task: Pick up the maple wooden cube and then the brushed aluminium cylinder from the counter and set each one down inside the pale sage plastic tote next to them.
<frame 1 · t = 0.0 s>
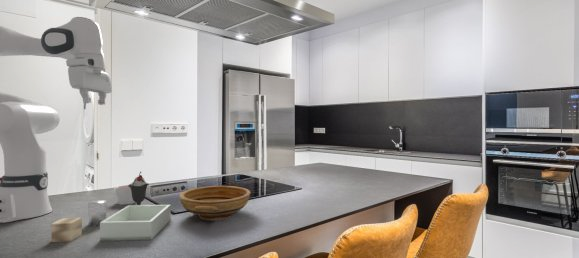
hand: (94, 104, 109), 39 cm above the counter, tool pointing down, fingers open, 8 cm apart
wooden bowl: (215, 215, 108), on the counter
maple cube: (67, 238, 86), on the counter
tote: (138, 229, 94), on the counter
sundae: (139, 212, 111), on the counter
aluminium cylinder: (97, 223, 98), on the counter
candle: (127, 203, 124), on the counter
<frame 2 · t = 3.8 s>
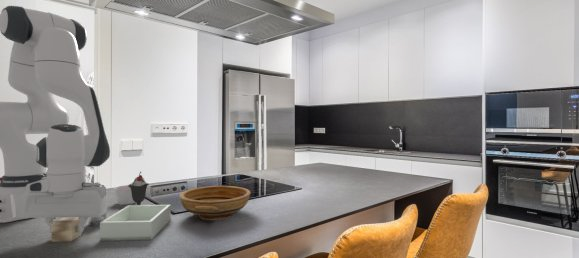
hand: (67, 232, 86), 2 cm above the counter, tool pointing down, fingers closed on maple cube, 5 cm apart
maple cube: (67, 238, 86), on the counter, touching gripper
everything else where it was.
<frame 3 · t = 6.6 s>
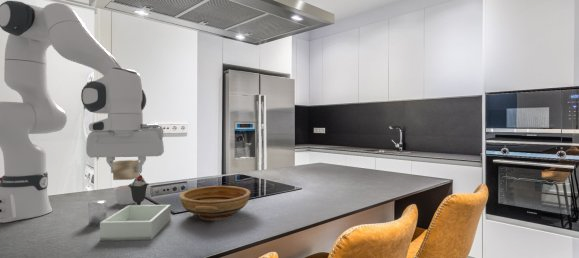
hand: (126, 172, 88), 18 cm above the counter, tool pointing down, fingers closed on maple cube, 5 cm apart
maple cube: (126, 178, 88), point 16 cm above the counter, touching gripper
everything else where it was.
when the fingers open (5 cm above the counter, at t = 9.5 s): maple cube drops 3 cm, resting on tote.
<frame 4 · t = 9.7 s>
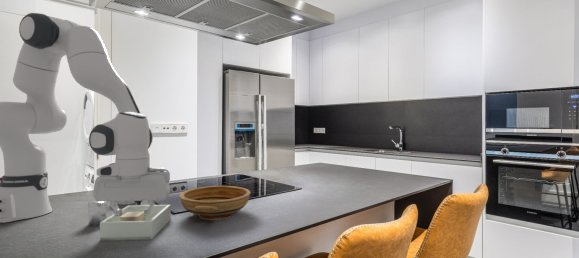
hand: (133, 215, 89), 5 cm above the counter, tool pointing down, fingers open, 7 cm apart
maple cube: (132, 231, 89), point 1 cm above the counter, touching tote
everything else where it was.
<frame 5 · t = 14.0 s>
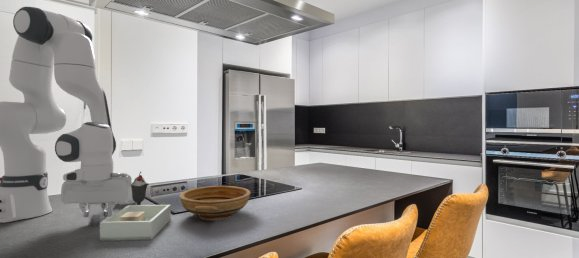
hand: (97, 216, 98), 2 cm above the counter, tool pointing down, fingers closed on aluminium cylinder, 5 cm apart
aluminium cylinder: (97, 223, 98), on the counter, touching gripper
everything else where it was.
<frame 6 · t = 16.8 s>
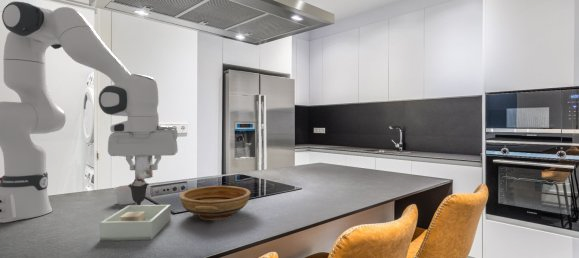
hand: (143, 170, 97), 17 cm above the counter, tool pointing down, fingers closed on aluminium cylinder, 5 cm apart
aluminium cylinder: (143, 177, 97), point 15 cm above the counter, touching gripper
everything else where it was.
when the fingers open (5 cm above the counter, at t = 19.4 s): aluminium cylinder drops 2 cm, resting on tote.
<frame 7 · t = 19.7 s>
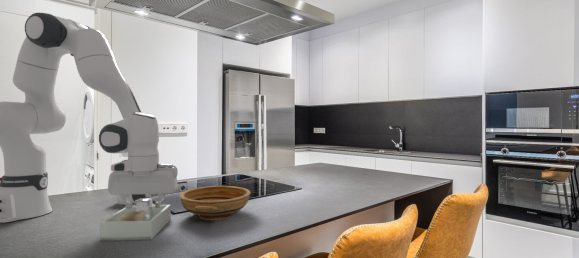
hand: (143, 207, 97), 5 cm above the counter, tool pointing down, fingers open, 8 cm apart
aluminium cylinder: (143, 222, 98), point 1 cm above the counter, touching tote
everything else where it was.
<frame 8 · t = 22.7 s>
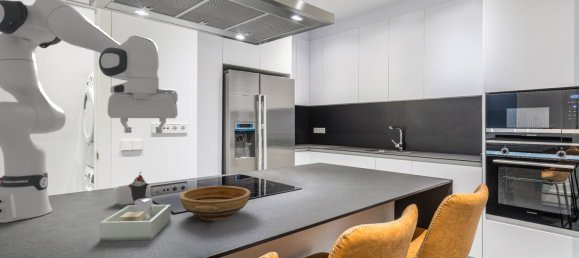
hand: (143, 132, 97), 29 cm above the counter, tool pointing down, fingers open, 8 cm apart
nothing on the counter moved.
at the end: maple cube inside the target area on the tote (4.1 cm from its centre), point 0.8 cm above the tote's base; aluminium cylinder inside the target area on the tote (4.0 cm from its centre), point 0.8 cm above the tote's base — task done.
